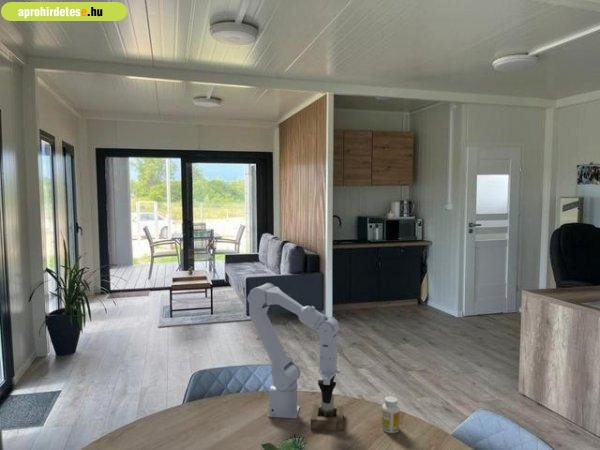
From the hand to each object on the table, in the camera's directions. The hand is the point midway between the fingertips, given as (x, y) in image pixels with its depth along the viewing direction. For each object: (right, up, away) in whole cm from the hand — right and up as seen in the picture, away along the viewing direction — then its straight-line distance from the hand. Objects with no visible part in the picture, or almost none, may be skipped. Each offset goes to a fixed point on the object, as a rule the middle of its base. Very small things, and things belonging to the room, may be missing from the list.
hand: (327, 397), depth 138 cm
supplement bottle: (+20, -9, -4) cm, 22 cm away
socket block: (0, -8, 0) cm, 8 cm away
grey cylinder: (0, -8, 0) cm, 8 cm away
